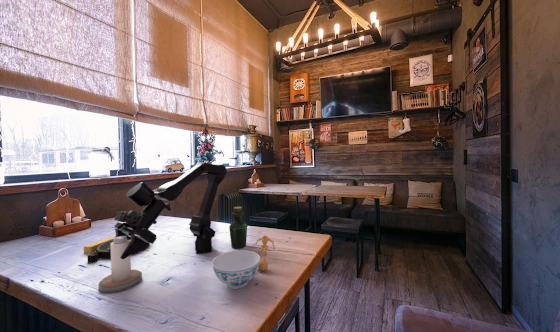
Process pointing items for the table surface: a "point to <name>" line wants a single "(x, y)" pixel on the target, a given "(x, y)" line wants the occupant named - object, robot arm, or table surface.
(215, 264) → the chinaware
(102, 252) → the decorative sign
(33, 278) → the table surface
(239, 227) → the potion bottle
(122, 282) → the display plinth
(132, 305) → the table surface
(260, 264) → the figurine
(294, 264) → the table surface
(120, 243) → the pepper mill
